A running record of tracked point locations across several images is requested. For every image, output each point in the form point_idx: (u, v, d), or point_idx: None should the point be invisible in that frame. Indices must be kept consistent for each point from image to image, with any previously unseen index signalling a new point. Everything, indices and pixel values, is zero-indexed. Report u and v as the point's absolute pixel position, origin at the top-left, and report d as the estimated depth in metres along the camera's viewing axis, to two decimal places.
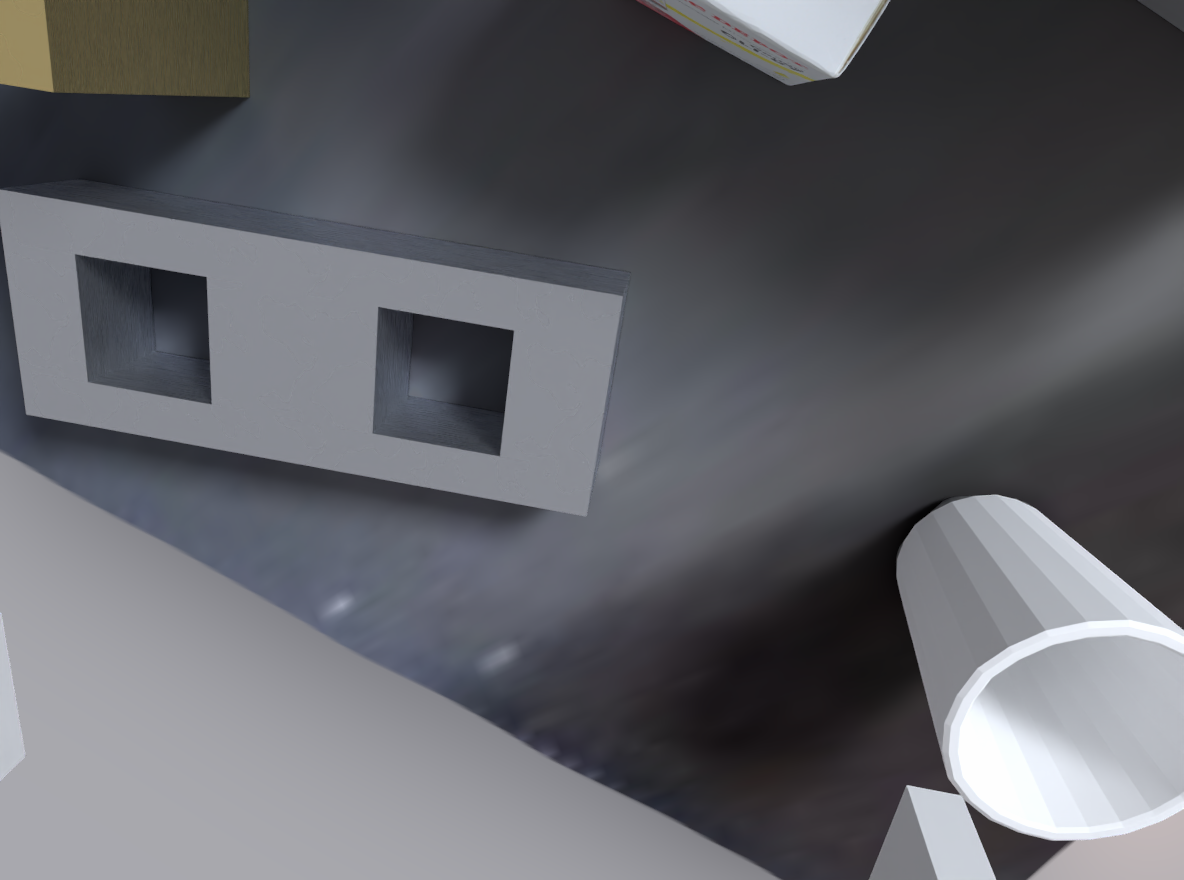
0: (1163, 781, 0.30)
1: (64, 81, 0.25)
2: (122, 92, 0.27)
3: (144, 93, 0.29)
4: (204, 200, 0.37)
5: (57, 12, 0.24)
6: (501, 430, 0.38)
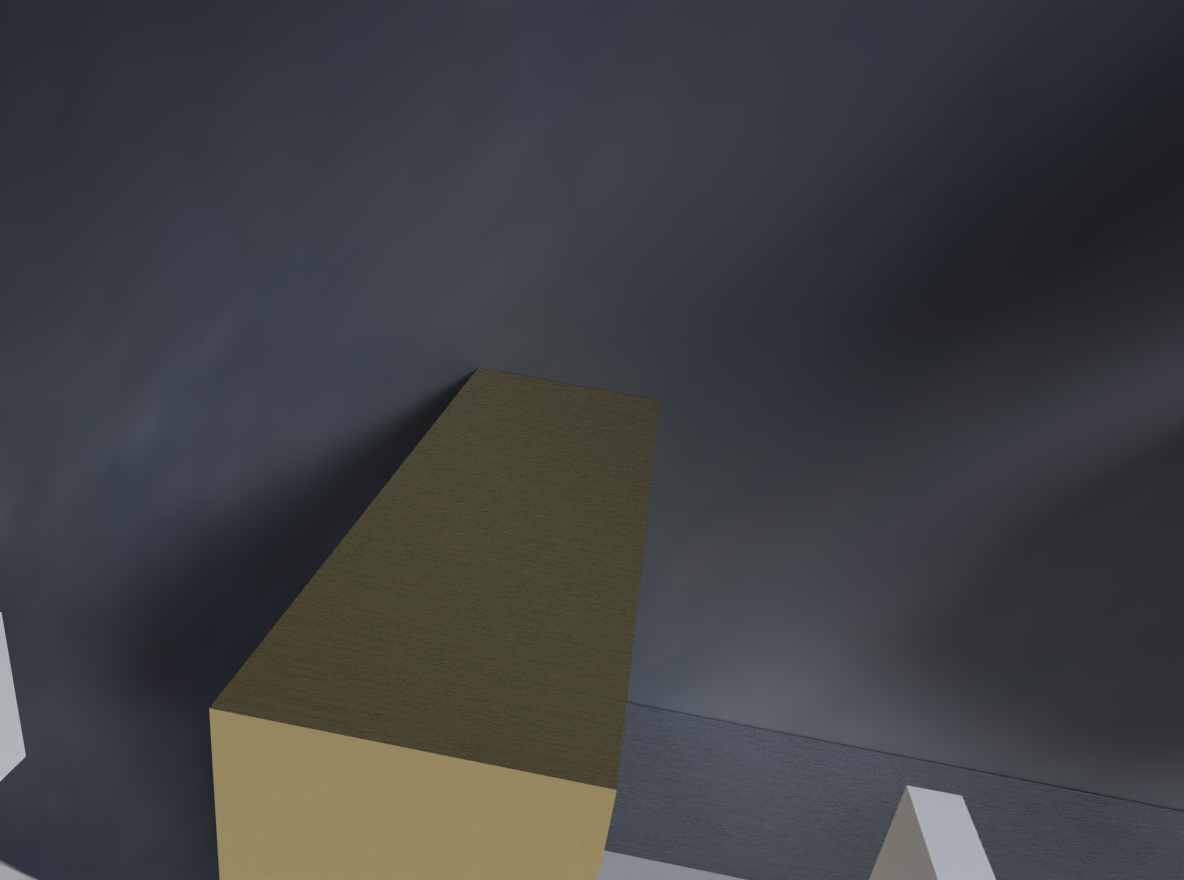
0: None
1: None
2: None
3: None
4: None
5: None
6: None
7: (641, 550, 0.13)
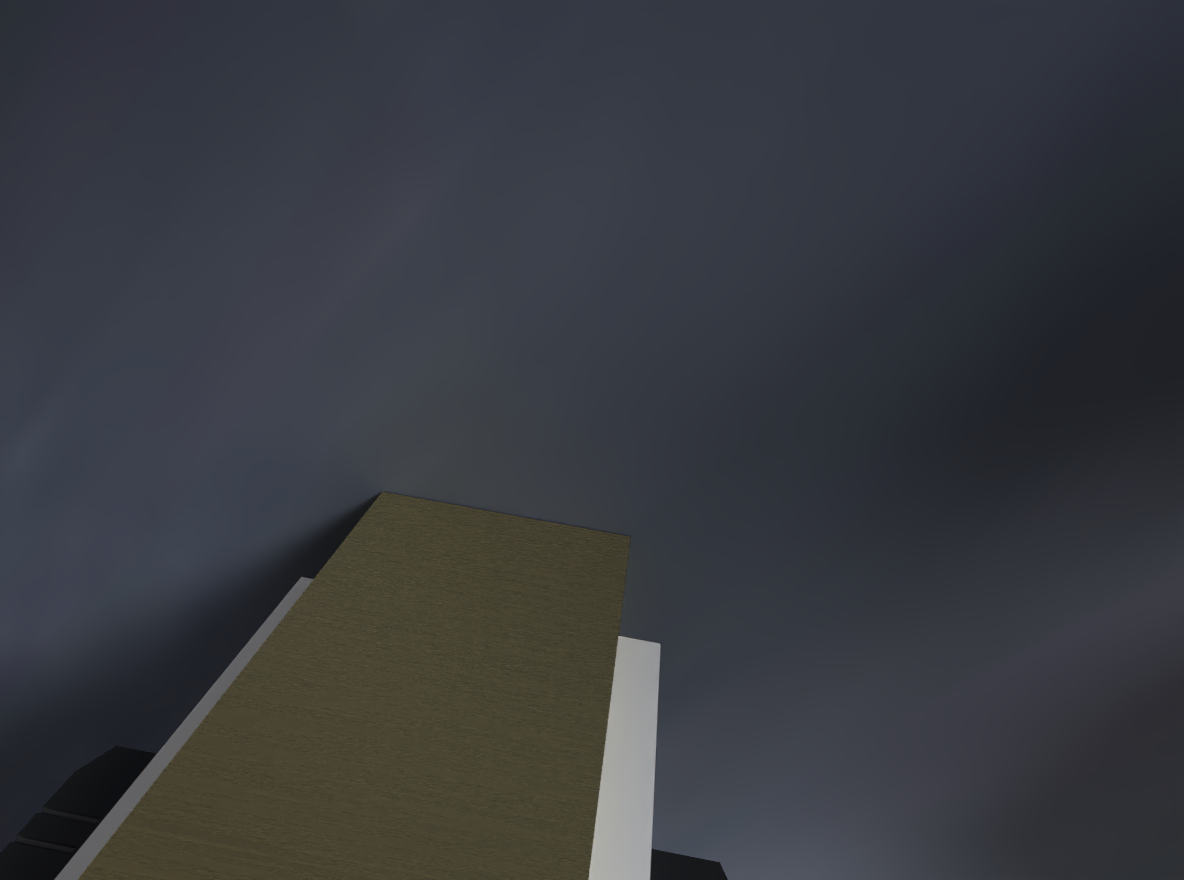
0: None
1: None
2: None
3: None
4: None
5: None
6: None
7: None
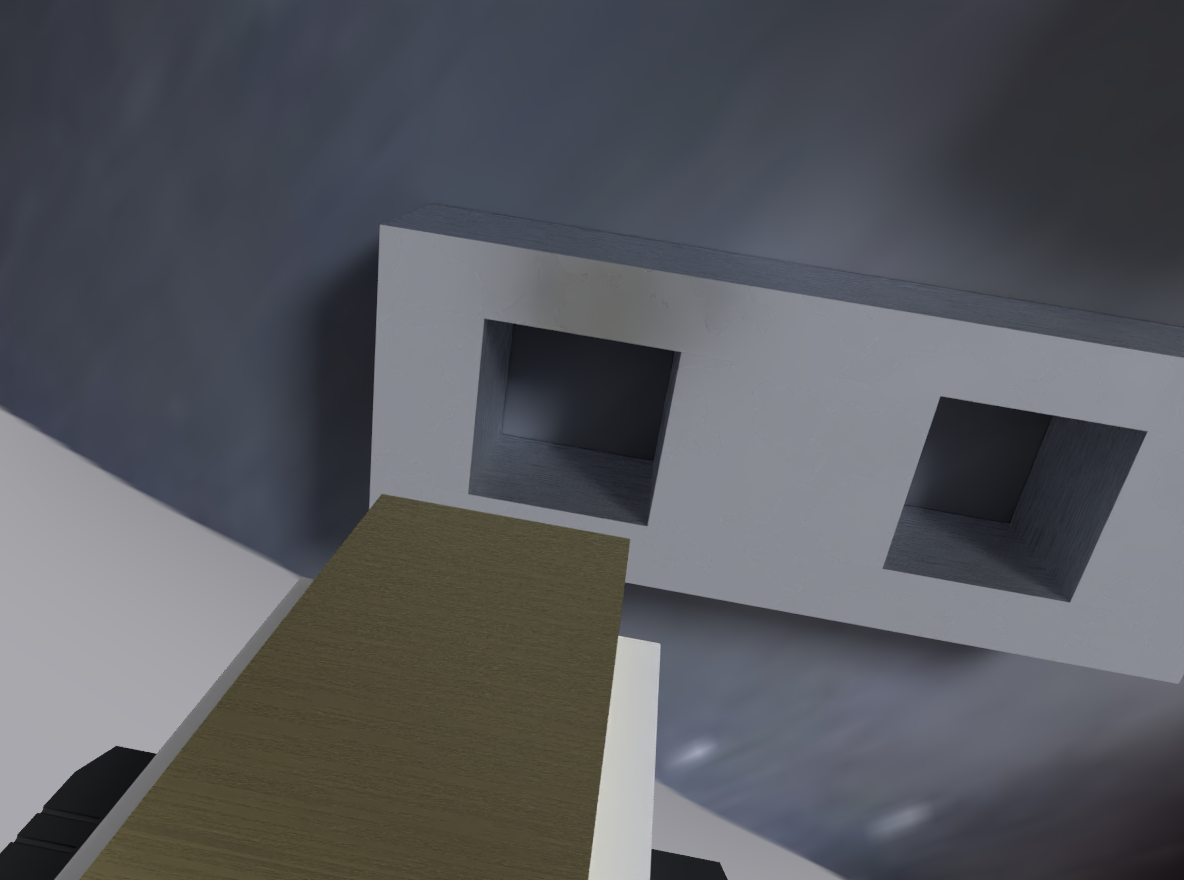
0: None
1: None
2: None
3: None
4: (611, 233, 0.27)
5: None
6: (1017, 551, 0.27)
7: None
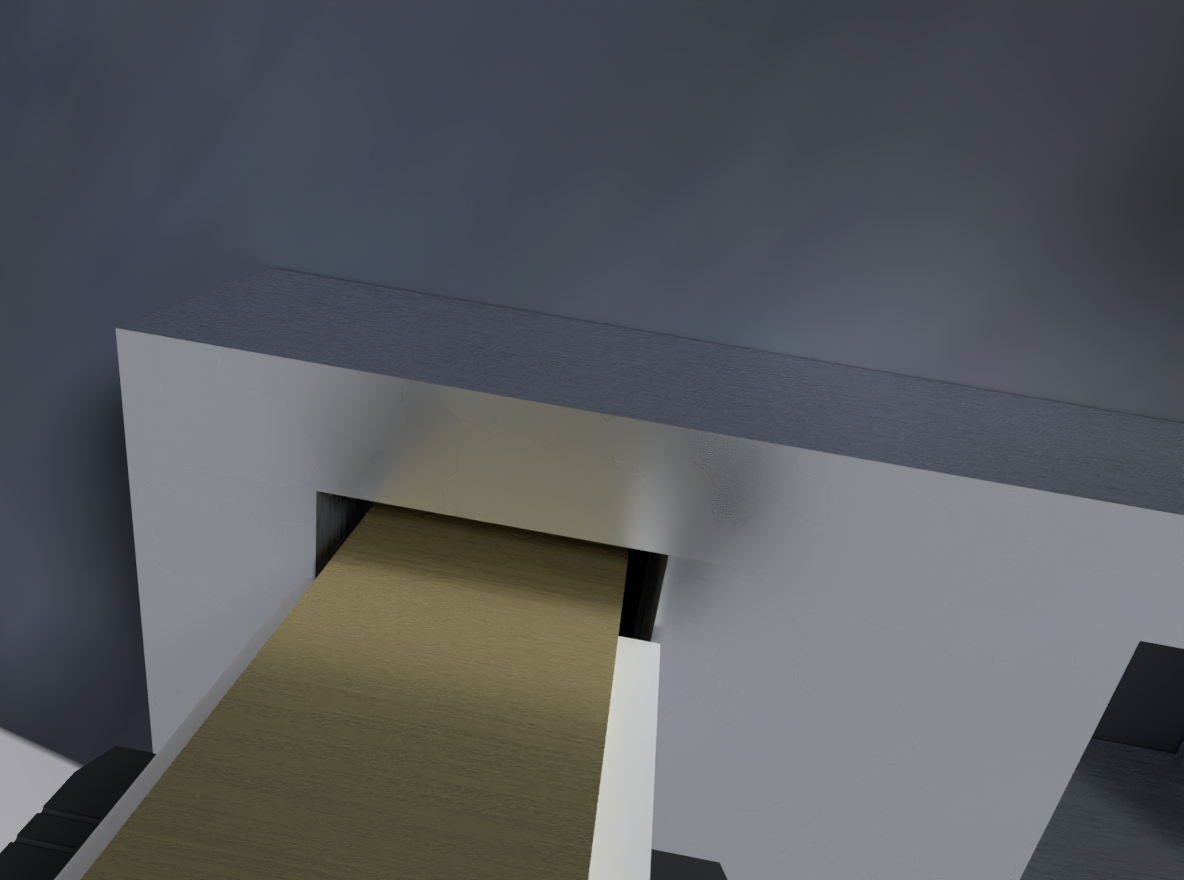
0: None
1: None
2: None
3: None
4: (557, 318, 0.16)
5: None
6: None
7: None
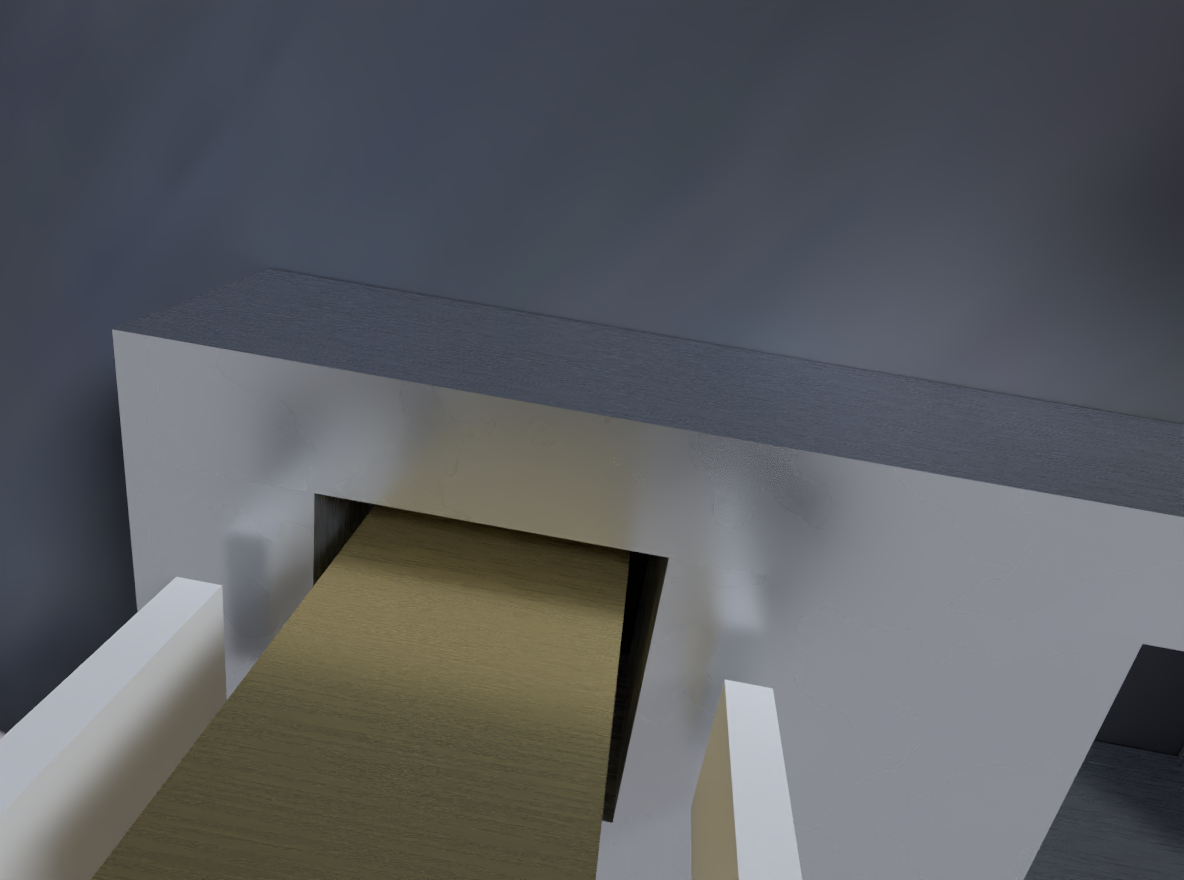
0: None
1: None
2: None
3: None
4: (557, 319, 0.16)
5: None
6: None
7: (616, 667, 0.11)
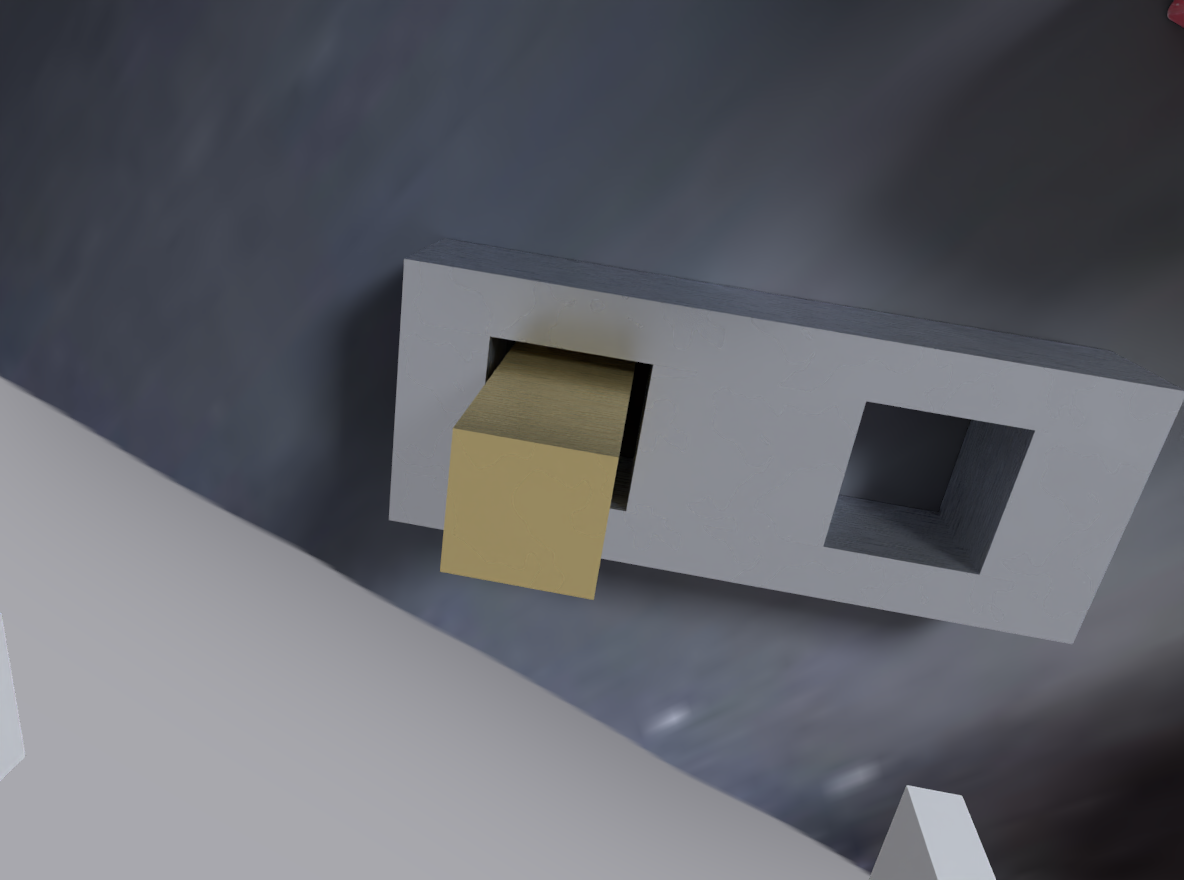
0: None
1: None
2: None
3: None
4: (596, 264, 0.31)
5: None
6: (941, 534, 0.32)
7: (628, 398, 0.26)
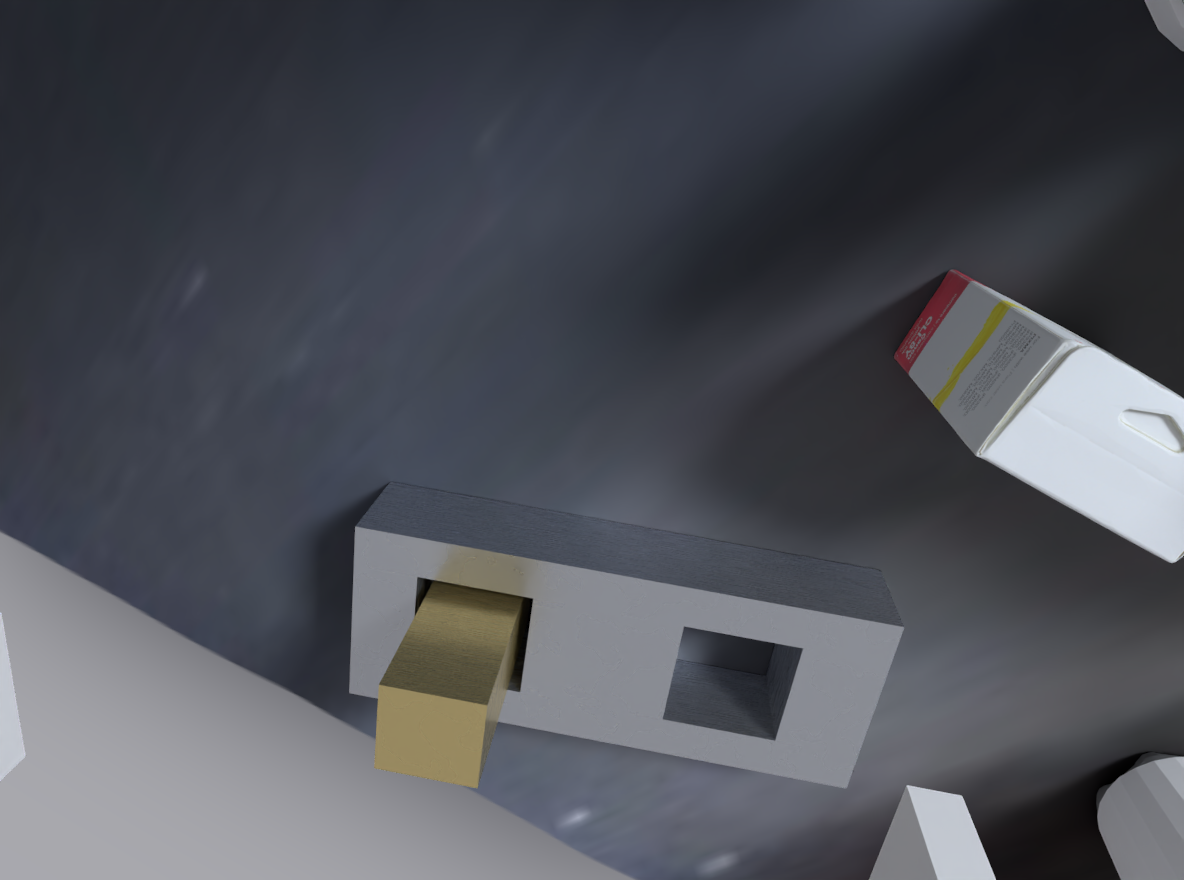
0: None
1: (480, 773, 0.35)
2: None
3: (499, 714, 0.39)
4: (502, 502, 0.43)
5: (484, 740, 0.34)
6: (759, 700, 0.43)
7: (510, 632, 0.37)
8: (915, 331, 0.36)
